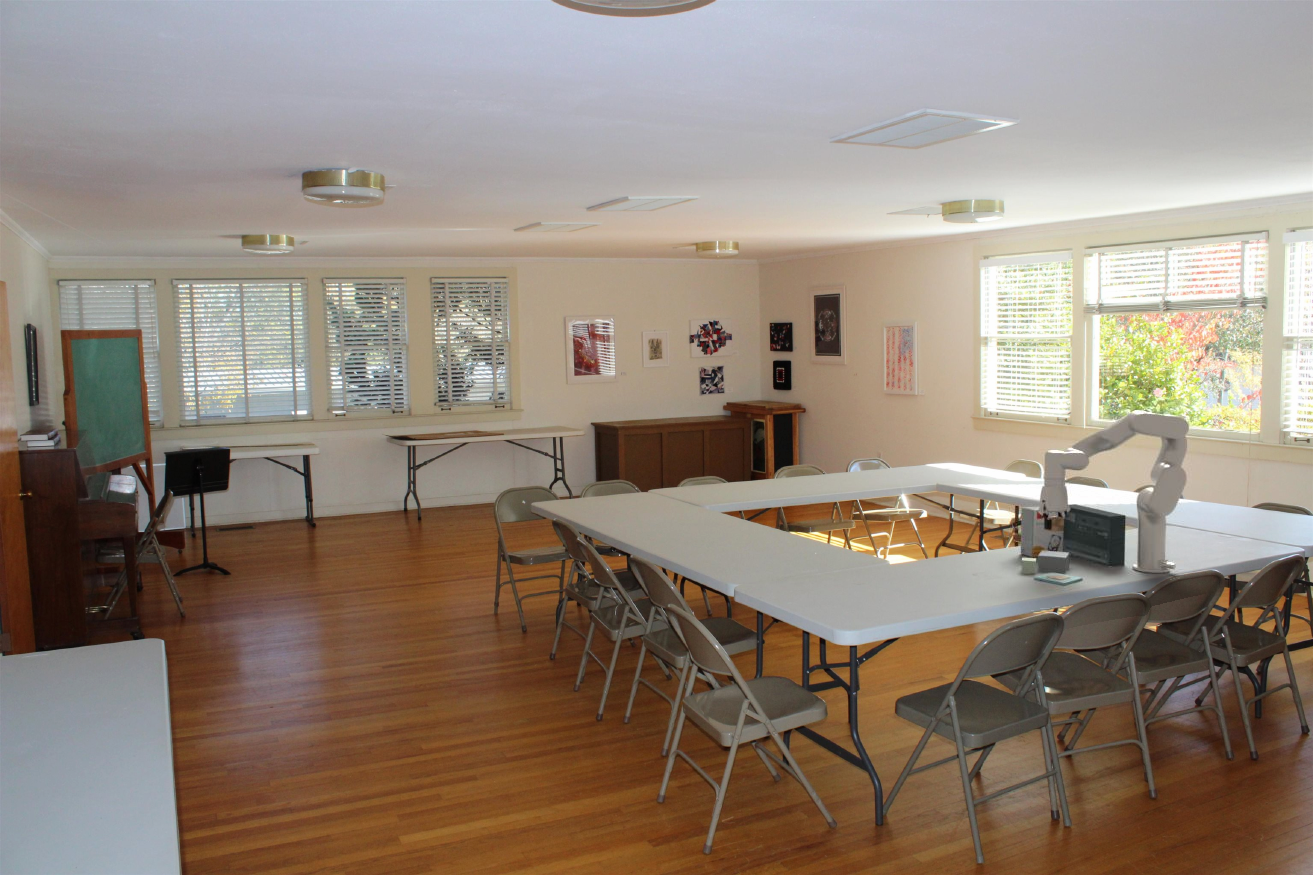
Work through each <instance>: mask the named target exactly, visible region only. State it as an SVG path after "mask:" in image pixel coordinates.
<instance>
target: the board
mask: <svg viewBox="0 0 1313 875" xmlns="http://www.w3.org/2000/svg"><path fill="white" fill-rule="evenodd" d="M1033 578H1034V580H1035V579H1036V580H1035V581H1040V580H1042V581H1041V582H1046V583H1052V584H1055V583H1056V585H1060V586H1067V585H1071V584H1074V583H1077V582H1080V581H1083V577H1080V576H1073V575H1070V574H1064V573H1060V572H1055V571H1050V572H1048V573H1045V574H1041V575H1037V576H1034V577H1033Z"/></svg>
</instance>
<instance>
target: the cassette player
mask: <svg viewBox="0 0 1313 875" xmlns="http://www.w3.org/2000/svg"><path fill="white" fill-rule="evenodd" d="M1068 505H1069V507H1070V511H1069V512H1067V514H1066V516H1065V518H1064V531H1063V552H1069V554H1071V555H1070V556H1072V555H1074V556H1073V557H1075V556H1076V557H1077V558H1079V557H1080V559H1082V560H1085V559H1086V561H1089V560H1090V562H1092V561H1093V563H1096V564H1099V563H1100V564H1099V565H1102V564H1103V565H1102V566H1105V565H1106V566H1107V567H1109V566H1112V567H1119V566H1120V567H1122V566H1125V564H1126V563H1125V561H1126V560H1125V558H1126V515H1125V514H1120V513H1117V512H1111V511H1107V510H1102V509H1098V508H1094V507H1088V506H1085V505H1081V504H1075V503H1074V504H1068ZM1106 566H1105V567H1106Z"/></svg>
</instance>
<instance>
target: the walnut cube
mask: <svg viewBox="0 0 1313 875" xmlns="http://www.w3.org/2000/svg"><path fill="white" fill-rule="evenodd" d="M1050 520H1051V530H1048V529H1045V528H1044V530H1048V531H1052V532H1055V531H1064V518H1062V517H1057V516H1051V518H1050Z"/></svg>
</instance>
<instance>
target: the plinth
mask: <svg viewBox="0 0 1313 875" xmlns="http://www.w3.org/2000/svg"><path fill="white" fill-rule="evenodd" d="M1037 558H1038V559H1037V561H1038V563H1037V570H1038V571H1043V572H1054V573H1067V572H1068V570H1069V568H1070V555H1069V552H1056V551H1044V550H1042V551H1041V552H1040V554H1039V555H1038V557H1037Z"/></svg>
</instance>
